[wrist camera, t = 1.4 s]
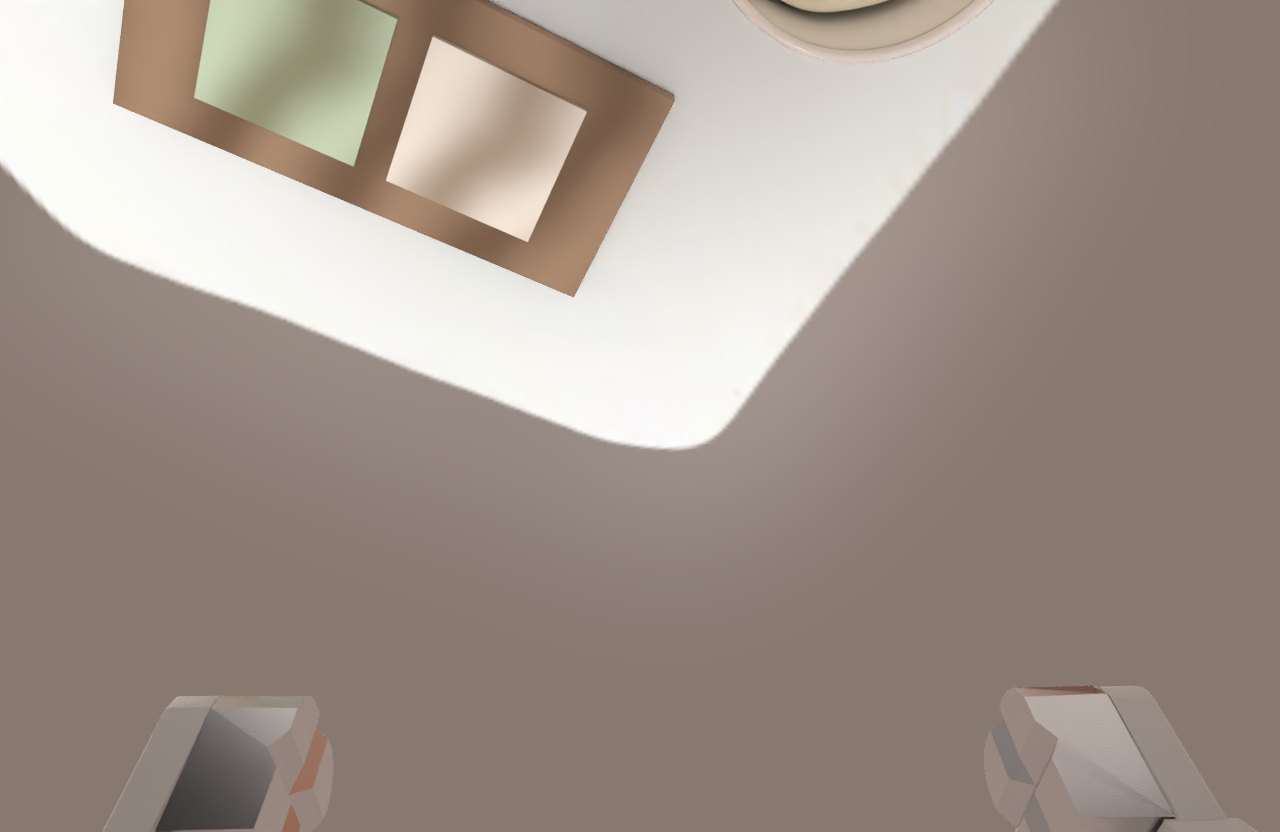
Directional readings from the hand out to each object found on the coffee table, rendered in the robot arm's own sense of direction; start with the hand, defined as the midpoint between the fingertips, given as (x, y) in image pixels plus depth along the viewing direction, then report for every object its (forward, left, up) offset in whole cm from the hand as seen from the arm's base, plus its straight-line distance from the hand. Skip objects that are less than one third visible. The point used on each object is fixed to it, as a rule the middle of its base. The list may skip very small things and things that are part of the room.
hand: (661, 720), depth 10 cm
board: (+12, +2, -33) cm, 35 cm away
